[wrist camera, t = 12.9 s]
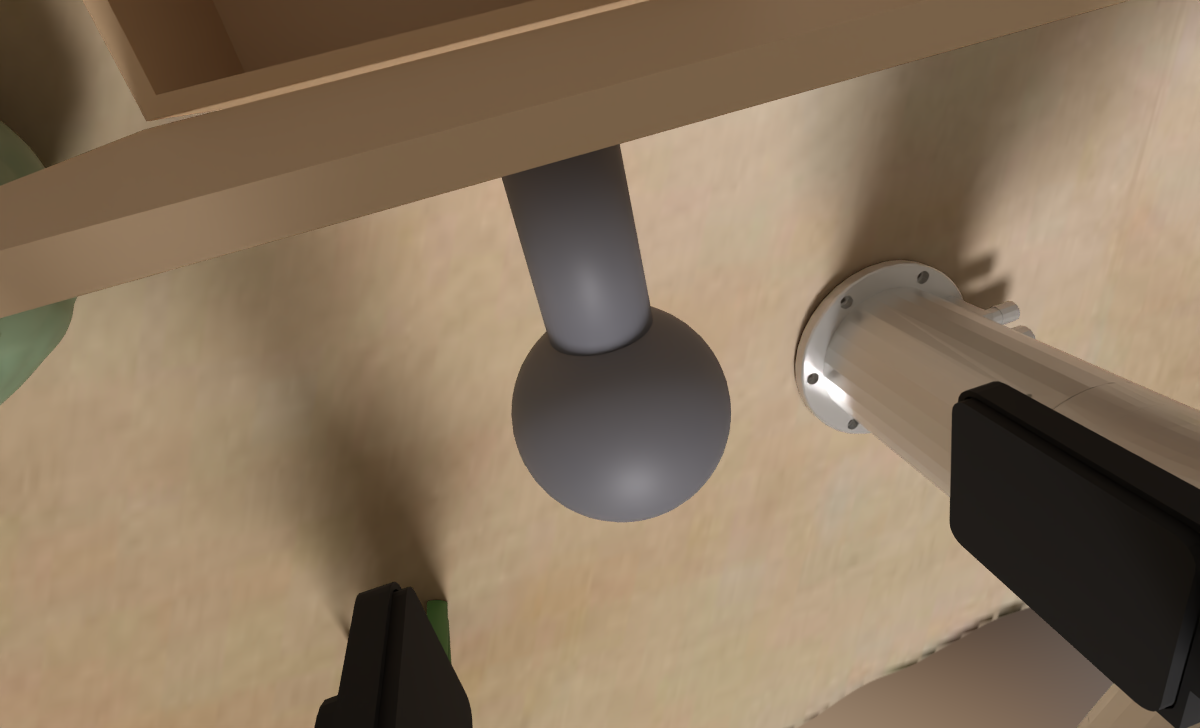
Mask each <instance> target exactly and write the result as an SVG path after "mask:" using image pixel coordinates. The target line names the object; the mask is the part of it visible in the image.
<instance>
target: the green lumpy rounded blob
mask: <svg viewBox="0 0 1200 728" xmlns="http://www.w3.org/2000/svg"><path fill="white" fill-rule="evenodd" d="M42 169H45V167H44V166H43V164H42V163H41V161H40V160H39V159H38V157H37V156H36V155H35V153H34V152H33V151H32V150H31V149H30V147H29V146H28V145H27V144H26V143H25V142H24V141H23V140H22V139H21V138H20V137H19V136H18V135H17V134H16V133H14V132H13V131H12V130H11V129H10V128H9V127H8V126H6V125H5V124H4V123H3V122H1V121H0V186H1V185H4V184H6V183H9V182H11V181H14V180H16V179H19V178H22V177H24V176H27V175H29V174H32V173H34V172H37V171H39V170H42ZM77 297H78V296H77ZM77 297H74V298H70V299H67V300H63V301H60V302H56V303H52V304H49V305H45V306H42V307H38V308H35V309H31V310H28V311H24V312H20V313H17V314H13V315H10V316H6V317H3V318H0V405H1V404H2V403H3V402H4V401H5V400H7V399H8V398H9V397H10V396H11V395H12V394H13V393H14V392H15V391H16V390H17V389H18V388H19V387H20V386H21V385H22V384H23V383H24V382H25V381H26V380H27V379H28V378H29V377H30V376H31V375H32V373H33V372H34V371H35V370H36V369H37V368H38V366H39V365H40V364H41V363H42V362H43V361H44V359H45V358H46V357H47V356H48V355H49V354H50V353H51V352H52V351H53V349H54V348H55V347H56V346H57V345H58V343H59V342H60V341H61V340H62V338H63V337H64V335H65V333H66V331H67V329H68V327H69V324H70V322H71V318H72V314H73V308H74V303H75V301H76V299H77Z"/></svg>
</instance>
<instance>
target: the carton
mask: <svg viewBox="0 0 1200 728" xmlns="http://www.w3.org/2000/svg"><path fill="white" fill-rule="evenodd" d="M644 1H648V0H83V2H84V4H85V6H86V8H87V10H88V12H89V13H90V15H91V17H92V19H93V21H94V23H95V25H96V27H97V29H98V30H99V32H100V34H101V36H102V38H103V40H104V42H105V44H106V46H107V47H108V49H109V51H110V53H111V55H112V57H113V59H114V61H115V63H116V65H117V66H118V68H119V70H120V72H121V74H122V76H123V78H124V80H125V82H126V83H127V85H128V87H129V89H130V91H131V93H132V95H133V97H134V99H135V100H136V102H137V104H138V106H139V108H140V110H141V112H142V114H143V116H144V117H145V119H146V121H152V120H158V119H164V118H171V117H177V116H184V115H190V114H196V113H203V112H209V111H216V110H222V109H227V108H231V107H235V106H238V105H242V104H246V103H250V102H254V101H258V100H262V99H266V98H270V97H274V96H277V95H281V94H285V93H289V92H293V91H297V90H301V89H305V88H309V87H313V86H316V85H320V84H324V83H328V82H332V81H336V80H340V79H344V78H348V77H352V76H355V75H359V74H363V73H367V72H371V71H375V70H379V69H383V68H387V67H391V66H394V65H398V64H402V63H406V62H410V61H414V60H418V59H422V58H426V57H430V56H433V55H437V54H441V53H445V52H449V51H453V50H457V49H461V48H465V47H469V46H472V45H476V44H480V43H484V42H488V41H492V40H496V39H500V38H504V37H508V36H511V35H515V34H519V33H523V32H527V31H531V30H535V29H539V28H543V27H547V26H550V25H554V24H558V23H562V22H566V21H570V20H574V19H578V18H582V17H586V16H589V15H593V14H597V13H601V12H605V11H609V10H613V9H617V8H621V7H625V6H628V5H632V4H636V3H640V2H644Z"/></svg>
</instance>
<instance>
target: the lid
mask: <svg viewBox="0 0 1200 728" xmlns="http://www.w3.org/2000/svg"><path fill="white" fill-rule="evenodd" d="M1125 1H1129V0H648V1H644V2H640V3H636V4H632V5H628V6H625V7H621V8H617V9H613V10H609V11H605V12H601V13H597V14H593V15H589V16H586V17H582V18H578V19H574V20H570V21H566V22H562V23H558V24H554V25H550V26H547V27H543V28H539V29H535V30H531V31H527V32H523V33H519V34H515V35H511V36H508V37H504V38H500V39H496V40H492V41H488V42H484V43H480V44H476V45H472V46H469V47H465V48H461V49H457V50H453V51H449V52H445V53H441V54H437V55H433V56H430V57H426V58H422V59H418V60H414V61H410V62H406V63H402V64H398V65H394V66H391V67H387V68H383V69H379V70H375V71H371V72H367V73H363V74H359V75H355V76H352V77H348V78H344V79H340V80H336V81H332V82H328V83H324V84H320V85H316V86H313V87H309V88H305V89H301V90H297V91H293V92H289V93H285V94H281V95H277V96H274V97H270V98H266V99H262V100H258V101H254V102H250V103H246V104H242V105H238V106H235V107H231V108H227V109H223V110H219V111H215V112H211V113H207V114H203V115H199V116H195V117H192V118H188V119H184V120H180V121H176V122H172V123H168V124H164V125H160V126H156V127H153V128H149V129H145V130H142V131H139V132H137V133H134V134H132V135H129V136H126V137H124V138H121V139H119V140H116V141H114V142H111V143H109V144H106V145H103V146H101V147H98V148H96V149H93V150H91V151H88V152H85V153H83V154H80V155H78V156H75V157H73V158H70V159H68V160H65V161H62V162H60V163H57V164H55V165H52V166H50V167H47V168H45V169H42V170H39V171H37V172H34V173H32V174H29V175H27V176H24V177H22V178H19V179H16V180H14V181H11V182H9V183H6V184H4V185H1V186H0V318H3V317H6V316H10V315H13V314H17V313H20V312H24V311H28V310H31V309H35V308H38V307H42V306H45V305H49V304H52V303H56V302H60V301H63V300H67V299H70V298H74V297H77V296H81V295H84V294H88V293H91V292H95V291H99V290H102V289H106V288H109V287H113V286H116V285H120V284H123V283H127V282H131V281H134V280H138V279H141V278H145V277H148V276H152V275H155V274H159V273H163V272H166V271H170V270H173V269H177V268H180V267H184V266H187V265H191V264H195V263H198V262H202V261H205V260H209V259H212V258H216V257H219V256H223V255H227V254H230V253H234V252H237V251H241V250H244V249H248V248H251V247H255V246H258V245H262V244H266V243H269V242H273V241H276V240H280V239H283V238H287V237H290V236H294V235H298V234H301V233H305V232H308V231H312V230H315V229H319V228H322V227H326V226H330V225H333V224H337V223H340V222H344V221H347V220H351V219H354V218H358V217H362V216H365V215H369V214H372V213H376V212H379V211H383V210H386V209H390V208H394V207H397V206H401V205H404V204H408V203H411V202H415V201H418V200H422V199H425V198H429V197H433V196H436V195H440V194H443V193H447V192H450V191H454V190H457V189H461V188H465V187H468V186H472V185H475V184H479V183H482V182H486V181H489V180H493V179H497V178H500V177H502V180H503V184H504V187H505V190H506V194H507V197H508V201H509V204H510V208H511V211H512V214H513V218H514V221H515V225H516V228H517V232H518V235H519V238H520V242H521V245H522V249H523V252H524V255H525V259H526V262H527V266H528V269H529V273H530V276H531V279H532V283H533V286H534V290H535V293H536V297H537V300H538V303H539V307H540V310H541V314H542V317H543V321H544V324H545V327H546V331H547V332H546V333H545V334H544V335H543V336H542V337H541V338H540V339H539V340H538V341H537V342H536V344H535V345H534V346H533V347H532V349H531V350H530V352H529V354H528V355H527V357H526V359H525V360H524V362H523V364H522V366H521V369H520V371H519V374H518V377H517V380H516V383H515V387H514V392H513V399H512V424H513V432H514V437H515V441H516V444H517V447H518V450H519V453H520V455H521V457H522V460H523V462H524V464H525V466H526V467H527V469H528V470H529V472H530V473H531V475H532V476H533V478H534V479H535V481H536V482H537V483H538V484H539V485H540V486H541V487H542V488H543V489H544V490H545V491H546V492H547V493H548V494H549V495H550V496H551V497H552V498H554V499H555V500H556V501H558V502H559V503H561V504H562V505H564V506H565V507H567V508H569V509H570V510H572V511H574V512H577V513H579V514H581V515H584V516H587V517H590V518H593V519H598V520H603V521H611V522H634V521H641V520H646V519H650V518H653V517H657V516H659V515H662V514H664V513H667V512H669V511H671V510H673V509H674V508H676V507H678V506H679V505H681V504H682V503H684V502H685V501H687V500H688V499H690V498H691V497H692V496H693V495H694V494H695V493H697V492H698V490H699V489H700V488H701V487H702V486H703V485H704V484H705V483H706V481H707V480H708V479H709V478H710V476H711V475H712V473H713V472H714V470H715V469H716V467H717V465H718V463H719V461H720V459H721V457H722V455H723V453H724V449H725V446H726V443H727V439H728V435H729V430H730V422H731V403H730V396H729V391H728V386H727V381H726V379H725V376H724V373H723V371H722V368H721V366H720V364H719V362H718V360H717V358H716V357H715V355H714V353H713V351H712V350H711V349H710V347H709V346H708V345H707V344H706V342H705V341H704V340H703V339H702V337H701V336H700V335H698V334H697V333H696V332H695V331H694V330H693V329H692V328H691V327H689V326H688V325H687V324H686V323H684V322H683V321H681V320H679V319H678V318H676V317H675V316H673V315H671V314H669V313H667V312H665V311H662V310H660V309H657V308H654V307H651V306H650V301H649V296H648V291H647V286H646V280H645V275H644V270H643V265H642V259H641V254H640V249H639V244H638V238H637V233H636V228H635V223H634V217H633V212H632V207H631V202H630V196H629V191H628V186H627V181H626V175H625V170H624V165H623V160H622V154H621V149H620V144H621V143H624V142H628V141H632V140H635V139H639V138H642V137H646V136H649V135H653V134H656V133H660V132H664V131H667V130H671V129H674V128H678V127H681V126H685V125H688V124H692V123H696V122H699V121H703V120H706V119H710V118H713V117H717V116H720V115H724V114H727V113H731V112H735V111H738V110H742V109H745V108H749V107H752V106H756V105H759V104H763V103H767V102H770V101H774V100H777V99H781V98H784V97H788V96H791V95H795V94H799V93H802V92H806V91H809V90H813V89H816V88H820V87H823V86H827V85H831V84H834V83H838V82H841V81H845V80H848V79H852V78H855V77H859V76H863V75H866V74H870V73H873V72H877V71H880V70H884V69H887V68H891V67H894V66H898V65H902V64H905V63H909V62H912V61H916V60H919V59H923V58H926V57H930V56H934V55H937V54H941V53H944V52H948V51H951V50H955V49H958V48H962V47H966V46H969V45H973V44H976V43H980V42H983V41H987V40H990V39H994V38H998V37H1001V36H1005V35H1008V34H1012V33H1015V32H1019V31H1022V30H1026V29H1030V28H1033V27H1037V26H1040V25H1044V24H1047V23H1051V22H1054V21H1058V20H1061V19H1065V18H1069V17H1072V16H1076V15H1079V14H1083V13H1086V12H1090V11H1093V10H1097V9H1101V8H1104V7H1108V6H1111V5H1115V4H1118V3H1122V2H1125Z"/></svg>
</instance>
